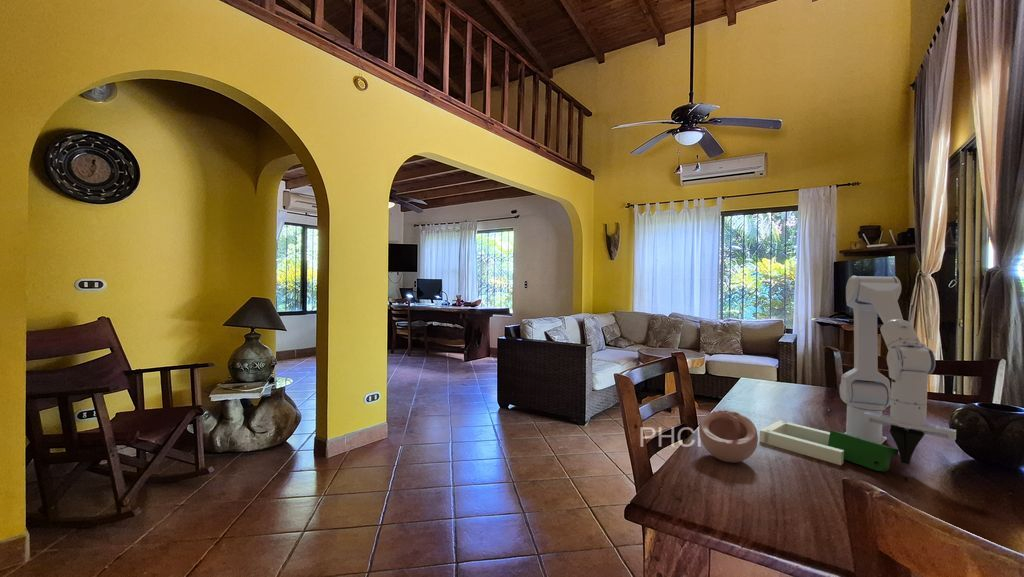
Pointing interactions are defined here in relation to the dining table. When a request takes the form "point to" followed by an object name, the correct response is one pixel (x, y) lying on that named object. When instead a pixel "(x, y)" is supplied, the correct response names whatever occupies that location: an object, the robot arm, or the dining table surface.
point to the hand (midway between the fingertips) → (905, 462)
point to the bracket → (801, 441)
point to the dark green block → (862, 451)
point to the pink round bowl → (728, 435)
